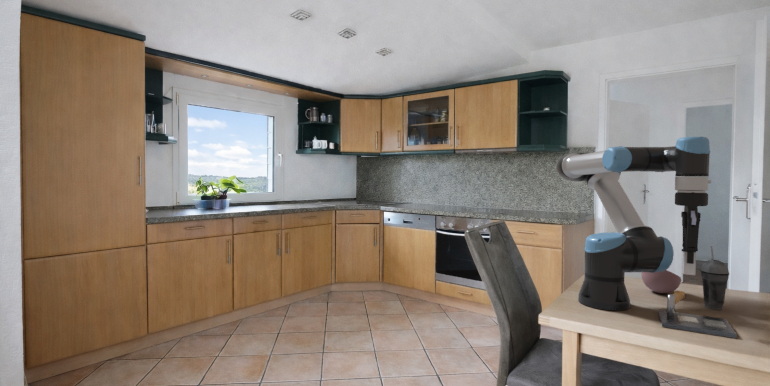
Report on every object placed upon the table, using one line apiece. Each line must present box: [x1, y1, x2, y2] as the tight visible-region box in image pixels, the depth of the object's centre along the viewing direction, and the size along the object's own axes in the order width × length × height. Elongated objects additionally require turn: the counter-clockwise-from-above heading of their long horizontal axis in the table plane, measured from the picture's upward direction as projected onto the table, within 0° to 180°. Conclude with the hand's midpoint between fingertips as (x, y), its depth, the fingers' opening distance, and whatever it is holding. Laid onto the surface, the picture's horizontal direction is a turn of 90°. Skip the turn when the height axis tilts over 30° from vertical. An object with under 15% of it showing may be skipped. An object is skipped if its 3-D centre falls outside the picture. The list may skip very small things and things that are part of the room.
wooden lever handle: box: [672, 290, 685, 306], centre depth 122 cm, size 12×2×2 cm, turn 134°
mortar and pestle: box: [641, 269, 682, 294], centre depth 146 cm, size 12×12×11 cm
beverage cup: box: [700, 245, 730, 311], centre depth 129 cm, size 7×7×20 cm
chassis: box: [657, 293, 738, 339], centre depth 114 cm, size 16×13×8 cm
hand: (689, 274), depth 114 cm, fingers closed
